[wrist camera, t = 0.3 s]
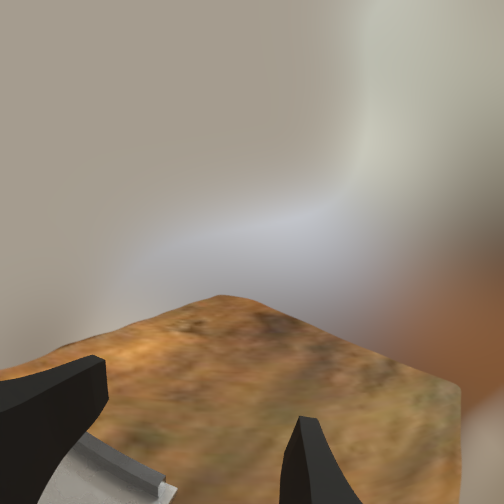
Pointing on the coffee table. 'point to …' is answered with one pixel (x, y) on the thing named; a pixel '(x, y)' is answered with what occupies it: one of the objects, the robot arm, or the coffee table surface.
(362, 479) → the coffee table surface
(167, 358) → the coffee table surface
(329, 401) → the coffee table surface
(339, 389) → the coffee table surface
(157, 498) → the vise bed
